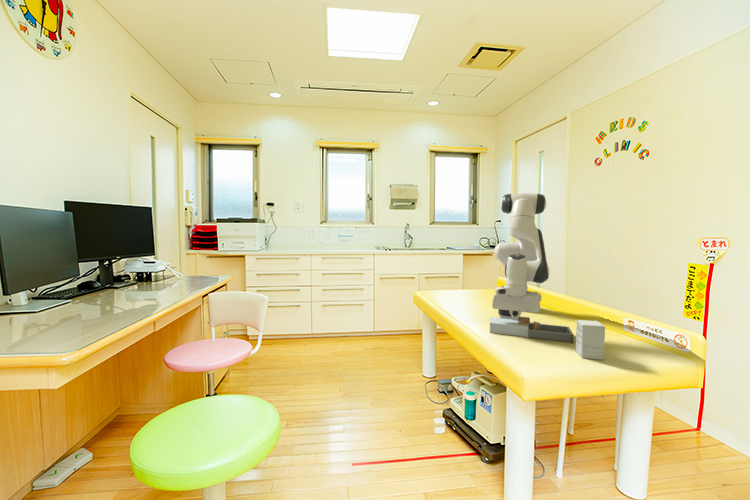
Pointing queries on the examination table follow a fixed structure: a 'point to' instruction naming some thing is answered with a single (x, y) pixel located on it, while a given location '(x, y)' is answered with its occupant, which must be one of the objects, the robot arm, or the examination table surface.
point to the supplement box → (590, 339)
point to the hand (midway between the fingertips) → (515, 320)
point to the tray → (551, 333)
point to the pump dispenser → (506, 314)
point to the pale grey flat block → (508, 327)
